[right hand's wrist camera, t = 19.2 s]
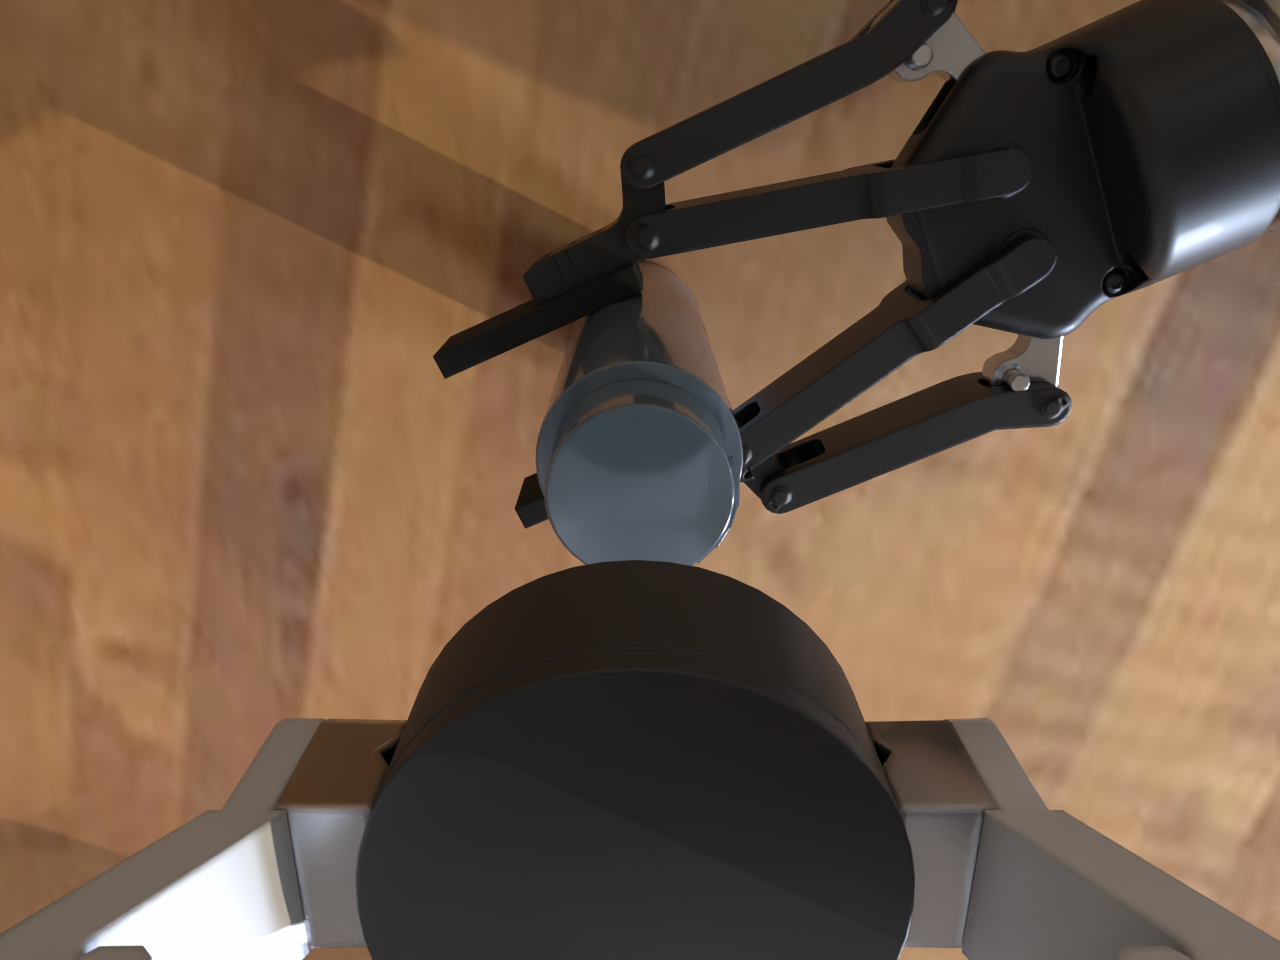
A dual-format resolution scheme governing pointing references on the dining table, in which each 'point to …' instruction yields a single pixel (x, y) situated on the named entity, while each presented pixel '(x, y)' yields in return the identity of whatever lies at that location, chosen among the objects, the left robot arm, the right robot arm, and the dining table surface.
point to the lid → (635, 786)
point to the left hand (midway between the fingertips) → (489, 431)
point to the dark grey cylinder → (641, 433)
